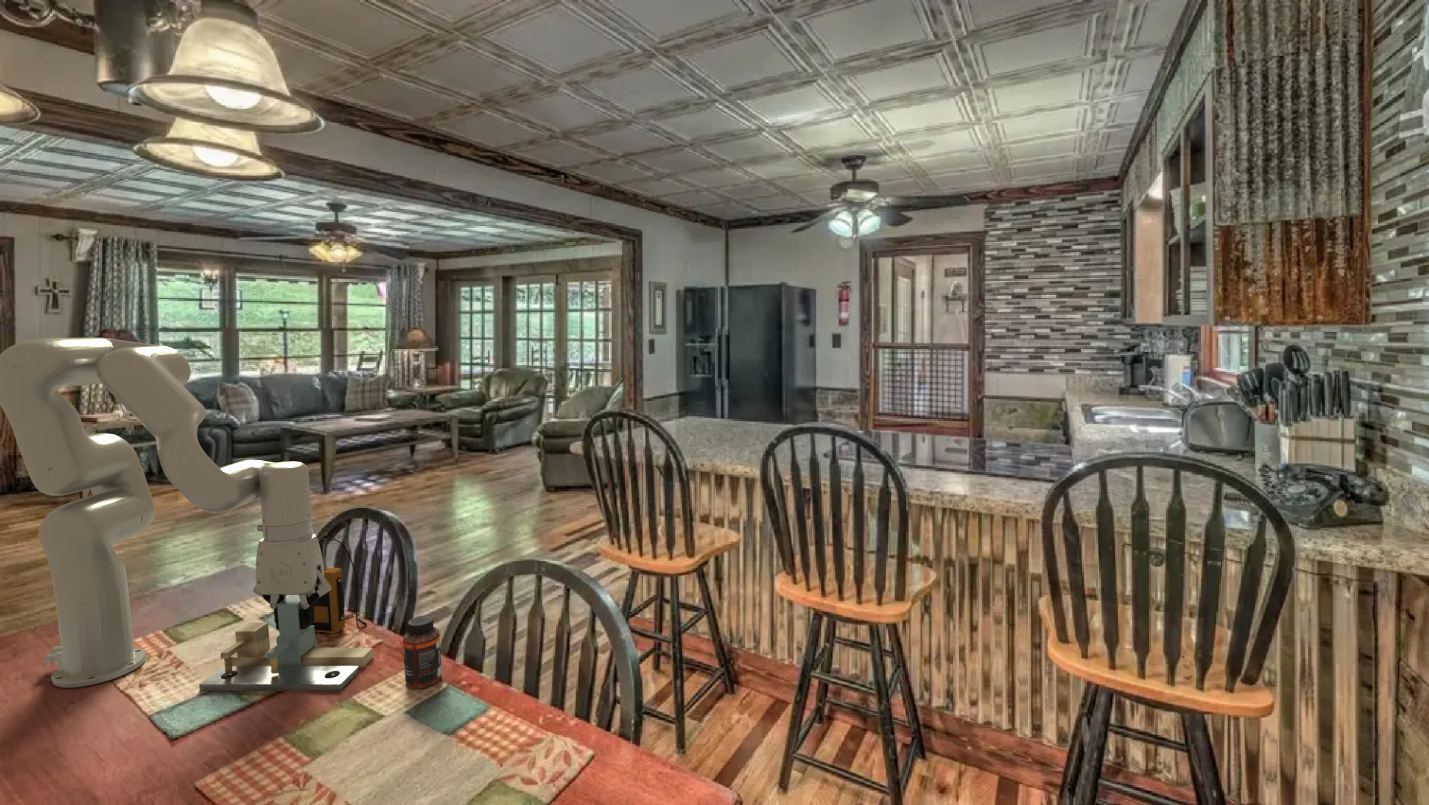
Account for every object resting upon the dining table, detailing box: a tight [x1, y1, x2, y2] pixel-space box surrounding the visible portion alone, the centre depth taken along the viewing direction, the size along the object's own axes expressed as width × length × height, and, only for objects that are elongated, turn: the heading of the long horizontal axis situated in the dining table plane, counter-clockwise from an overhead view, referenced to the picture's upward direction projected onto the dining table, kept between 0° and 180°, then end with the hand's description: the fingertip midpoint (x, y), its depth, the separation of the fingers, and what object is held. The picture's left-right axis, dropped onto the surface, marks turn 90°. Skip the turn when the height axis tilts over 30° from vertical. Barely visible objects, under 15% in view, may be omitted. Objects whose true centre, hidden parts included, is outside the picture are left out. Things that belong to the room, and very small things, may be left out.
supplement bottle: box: [402, 615, 443, 689], centre depth 116 cm, size 6×6×11 cm
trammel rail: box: [220, 622, 374, 674], centre depth 120 cm, size 24×9×7 cm, turn 91°
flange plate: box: [198, 665, 360, 692], centre depth 117 cm, size 24×6×1 cm, turn 91°
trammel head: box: [267, 595, 318, 674], centre depth 120 cm, size 4×10×12 cm, turn 1°
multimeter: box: [311, 538, 368, 635], centre depth 138 cm, size 15×10×20 cm
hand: (295, 625), depth 122 cm, fingers closed on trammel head, 3 cm apart
